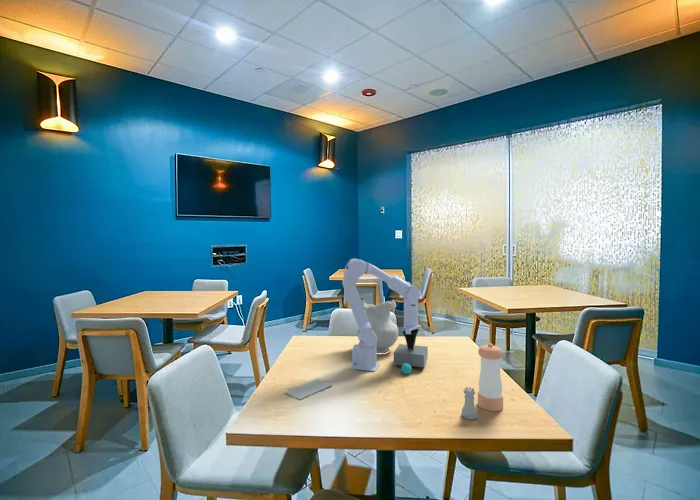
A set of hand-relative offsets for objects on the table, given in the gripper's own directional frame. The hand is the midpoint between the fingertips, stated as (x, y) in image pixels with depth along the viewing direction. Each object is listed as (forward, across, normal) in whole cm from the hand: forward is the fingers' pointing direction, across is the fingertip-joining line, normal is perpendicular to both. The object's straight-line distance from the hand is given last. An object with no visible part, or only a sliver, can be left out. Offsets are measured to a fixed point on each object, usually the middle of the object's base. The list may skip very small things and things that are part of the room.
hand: (411, 347), depth 144 cm
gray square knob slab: (+6, 0, 0) cm, 6 cm away
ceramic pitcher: (+7, +14, +19) cm, 25 cm away
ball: (+5, -11, 0) cm, 12 cm away
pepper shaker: (+7, -29, -29) cm, 42 cm away
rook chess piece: (+7, -38, -23) cm, 45 cm away
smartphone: (+8, -36, +29) cm, 47 cm away
